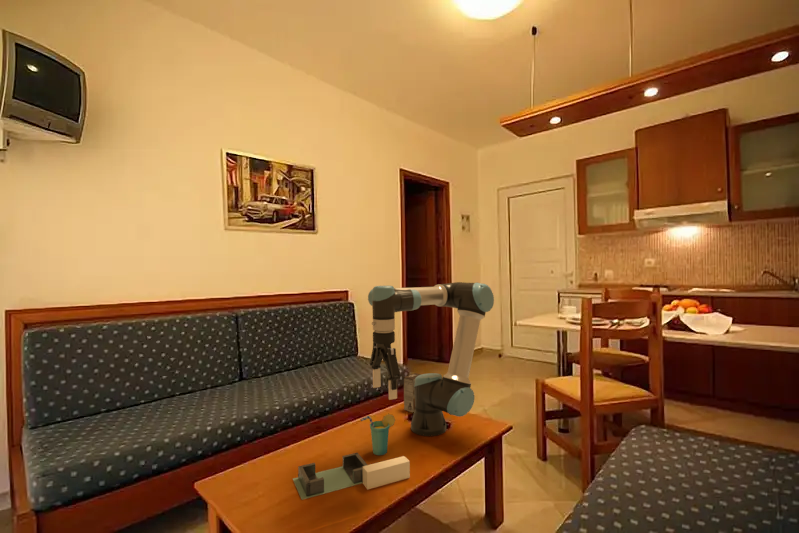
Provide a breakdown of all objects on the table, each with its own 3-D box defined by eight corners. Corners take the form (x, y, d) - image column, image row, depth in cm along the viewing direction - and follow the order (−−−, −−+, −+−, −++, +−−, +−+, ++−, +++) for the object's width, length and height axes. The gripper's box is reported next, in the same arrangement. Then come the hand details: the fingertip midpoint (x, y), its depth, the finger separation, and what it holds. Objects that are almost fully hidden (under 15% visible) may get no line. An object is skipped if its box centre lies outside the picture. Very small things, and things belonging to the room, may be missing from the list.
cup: (366, 463, 140) (365, 421, 140) (356, 454, 147) (355, 414, 147) (399, 452, 148) (398, 412, 148) (388, 444, 154) (388, 406, 154)
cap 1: (306, 496, 120) (306, 483, 120) (298, 478, 130) (298, 466, 130) (324, 492, 122) (324, 479, 122) (314, 474, 132) (314, 462, 132)
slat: (404, 473, 134) (404, 455, 134) (409, 479, 130) (409, 461, 130) (362, 485, 127) (362, 466, 127) (367, 491, 123) (367, 472, 123)
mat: (361, 462, 141) (361, 461, 141) (375, 480, 129) (375, 479, 129) (292, 479, 130) (292, 478, 130) (301, 501, 118) (301, 499, 118)
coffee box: (415, 404, 198) (415, 372, 197) (425, 407, 193) (425, 375, 193) (403, 409, 191) (403, 376, 191) (413, 413, 186) (413, 379, 186)
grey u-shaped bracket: (357, 463, 139) (357, 452, 139) (369, 479, 129) (369, 467, 129) (342, 467, 137) (342, 455, 137) (354, 483, 126) (354, 471, 126)
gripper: (360, 326, 145) (361, 384, 145) (388, 338, 122) (389, 406, 123) (379, 324, 148) (380, 381, 148) (410, 335, 126) (411, 402, 126)
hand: (384, 392), depth 135 cm, fingers open, 13 cm apart
